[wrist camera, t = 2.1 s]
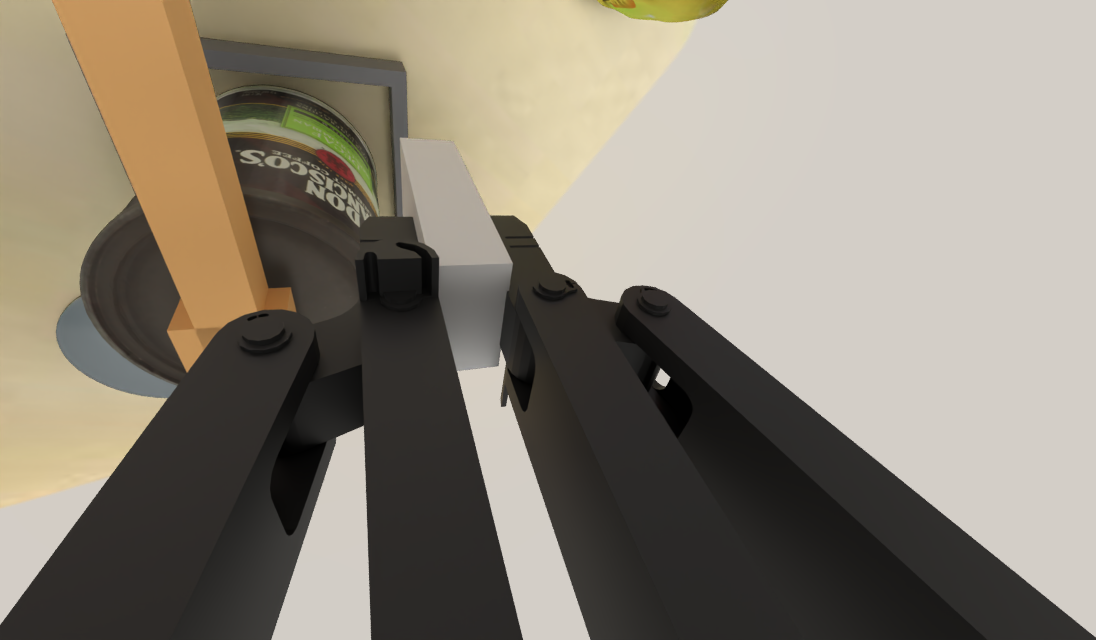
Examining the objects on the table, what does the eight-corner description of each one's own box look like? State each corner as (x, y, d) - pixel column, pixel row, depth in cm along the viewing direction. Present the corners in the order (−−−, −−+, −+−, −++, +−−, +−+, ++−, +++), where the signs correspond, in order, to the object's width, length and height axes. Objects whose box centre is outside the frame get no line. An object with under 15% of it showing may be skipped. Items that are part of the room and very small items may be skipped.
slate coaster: (102, 404, 33) (101, 407, 33) (19, 286, 27) (17, 289, 26) (270, 384, 37) (270, 387, 37) (235, 277, 30) (234, 279, 30)
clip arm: (211, 359, 17) (196, 412, 15) (-126, -434, 7) (-305, -570, 5) (305, 350, 18) (301, 398, 16) (142, -338, 8) (80, -418, 6)
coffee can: (249, 37, 23) (178, 125, 13) (409, 170, 30) (442, 294, 20) (145, 178, 25) (17, 343, 15) (315, 271, 32) (303, 425, 22)
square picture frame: (189, 273, 29) (179, 295, 28) (89, 24, 21) (65, 33, 19) (408, 265, 34) (411, 283, 33) (402, 62, 26) (406, 72, 24)
